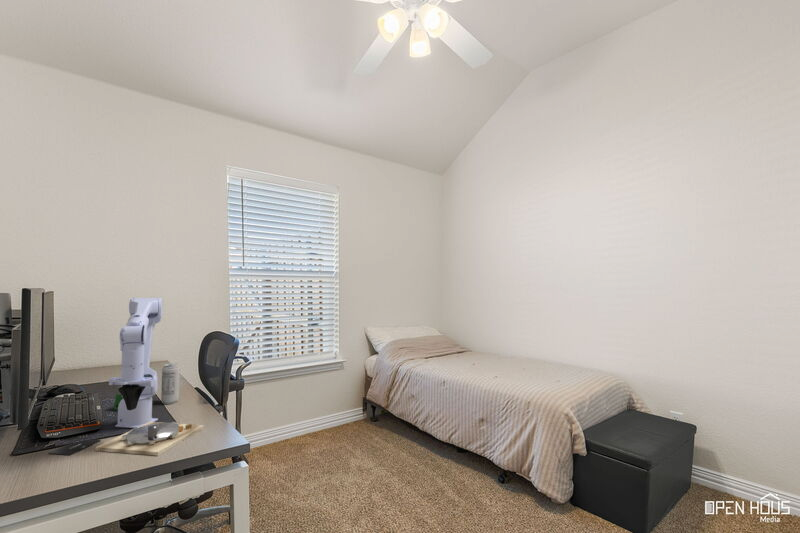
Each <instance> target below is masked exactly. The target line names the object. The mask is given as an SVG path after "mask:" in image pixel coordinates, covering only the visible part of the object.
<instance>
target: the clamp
mask: <svg viewBox="0 0 800 533" xmlns="http://www.w3.org/2000/svg"><path fill="white" fill-rule="evenodd" d="M153 398H154V395H153V396H152V400H153ZM122 399H123V397H122V395H121V393H117V394H116V395H115V401H114V403H113V409H114V410H115V411H118V406H119V403H120V401H121V400H122Z"/></svg>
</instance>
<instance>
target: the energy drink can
mask: <svg viewBox="0 0 800 533" xmlns="http://www.w3.org/2000/svg"><path fill="white" fill-rule="evenodd" d="M160 396H161V399H160V400H161V403H162V404H163V405H172V404H173V405H174V404H176V403H177V402H178V400H179V398H180V366H179V364H178V362H171V363H165V364H163V367H162V369H161V395H160Z"/></svg>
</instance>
